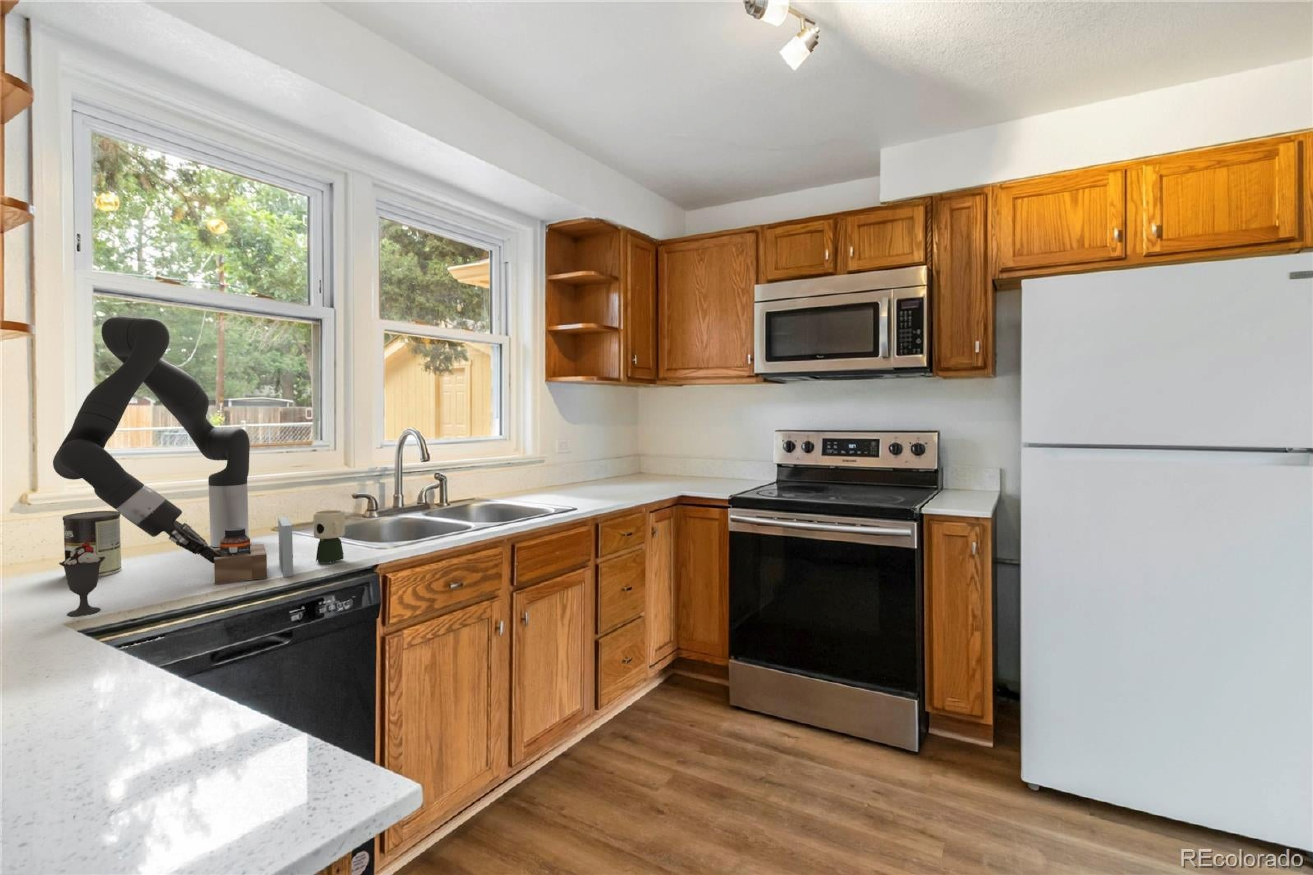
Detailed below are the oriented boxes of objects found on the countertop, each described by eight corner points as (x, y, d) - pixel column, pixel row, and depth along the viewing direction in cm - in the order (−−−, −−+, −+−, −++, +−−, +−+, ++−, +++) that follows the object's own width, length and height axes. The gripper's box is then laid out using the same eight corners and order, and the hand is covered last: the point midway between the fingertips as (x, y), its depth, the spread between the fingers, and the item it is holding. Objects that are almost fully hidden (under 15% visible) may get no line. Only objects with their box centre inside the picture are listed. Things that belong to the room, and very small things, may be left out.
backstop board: (279, 565, 162) (278, 517, 161) (288, 564, 163) (287, 516, 162) (283, 576, 151) (282, 526, 150) (293, 575, 152) (292, 525, 151)
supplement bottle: (240, 580, 148) (239, 531, 147) (214, 579, 148) (213, 530, 147) (256, 573, 154) (255, 526, 153) (231, 573, 154) (230, 526, 153)
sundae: (109, 612, 125) (106, 535, 124) (62, 620, 120) (59, 540, 119) (104, 604, 130) (101, 530, 129) (59, 612, 125) (56, 535, 124)
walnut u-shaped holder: (215, 571, 154) (214, 548, 154) (264, 565, 160) (263, 543, 160) (214, 584, 144) (214, 559, 143) (267, 577, 149) (266, 554, 149)
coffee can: (67, 581, 146) (64, 519, 145) (62, 573, 153) (60, 514, 152) (126, 573, 153) (123, 514, 153) (118, 565, 160) (116, 509, 160)
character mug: (307, 561, 166) (306, 510, 166) (336, 556, 171) (335, 507, 171) (323, 568, 159) (322, 516, 158) (352, 563, 164) (352, 512, 163)
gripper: (161, 501, 138) (231, 552, 145) (167, 494, 149) (231, 542, 156) (130, 528, 135) (202, 579, 142) (138, 519, 146) (205, 566, 153)
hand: (217, 559), depth 149 cm, fingers closed
